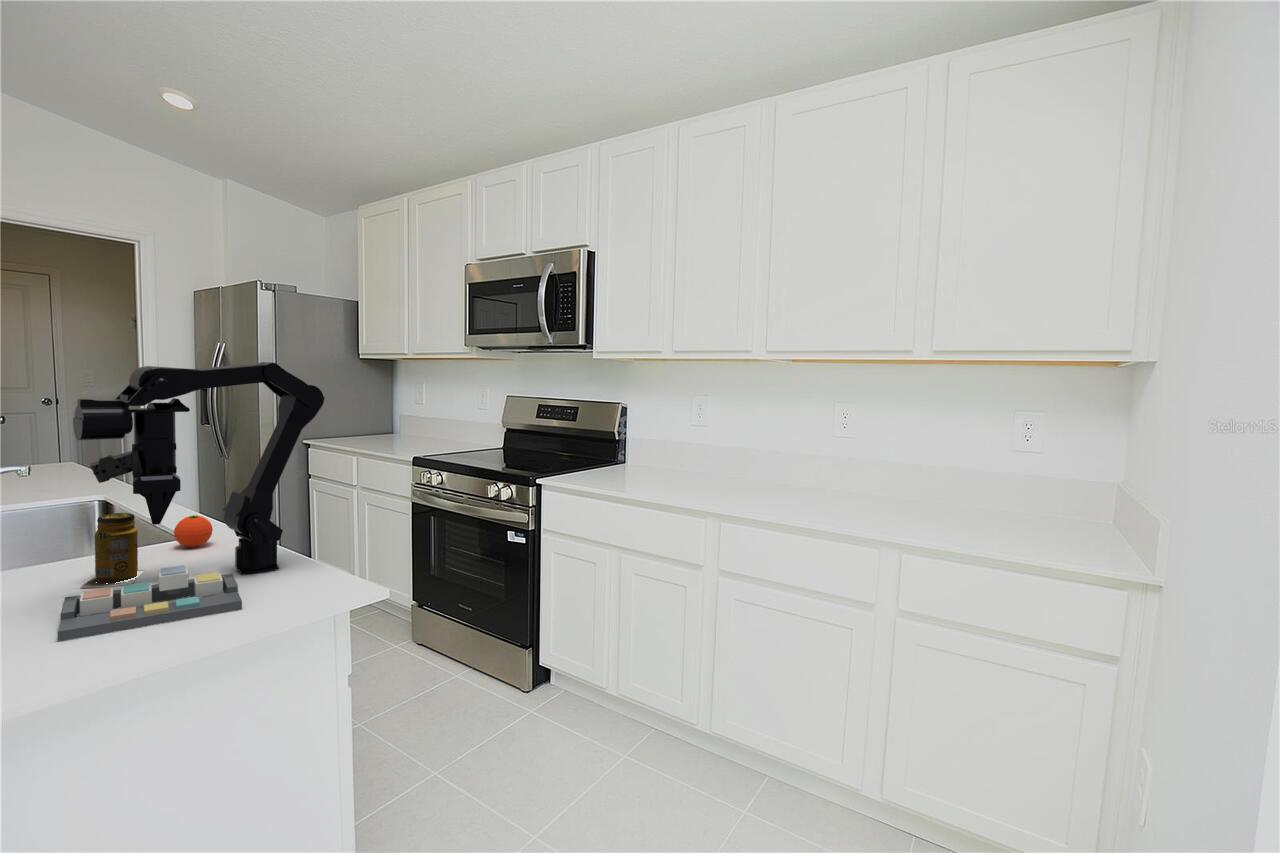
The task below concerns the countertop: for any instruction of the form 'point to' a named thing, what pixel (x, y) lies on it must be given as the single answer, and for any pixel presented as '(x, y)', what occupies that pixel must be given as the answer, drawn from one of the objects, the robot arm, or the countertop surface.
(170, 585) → the key slate
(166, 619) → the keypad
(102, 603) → the block
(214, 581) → the key mustard
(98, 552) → the condiment
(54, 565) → the countertop surface
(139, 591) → the key teal
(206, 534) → the clementine
